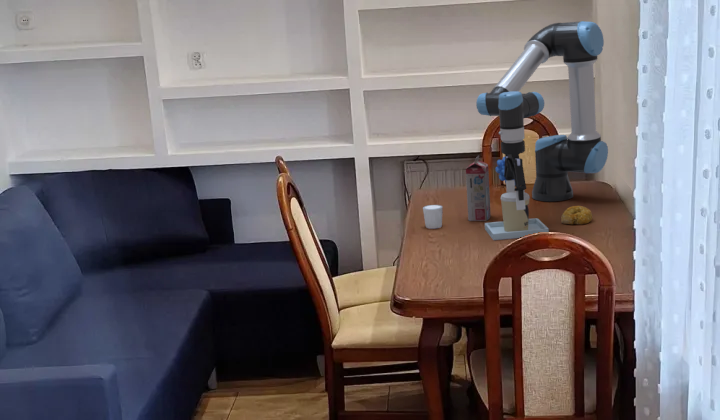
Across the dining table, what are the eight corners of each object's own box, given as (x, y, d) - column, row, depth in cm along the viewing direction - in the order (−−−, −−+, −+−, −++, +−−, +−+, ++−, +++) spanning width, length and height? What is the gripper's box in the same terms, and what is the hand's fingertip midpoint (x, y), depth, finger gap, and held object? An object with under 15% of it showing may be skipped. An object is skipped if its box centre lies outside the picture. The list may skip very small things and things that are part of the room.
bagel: (553, 222, 288) (553, 208, 287) (579, 216, 292) (579, 202, 291) (572, 227, 279) (572, 213, 278) (599, 221, 283) (598, 208, 282)
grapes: (491, 187, 346) (490, 158, 343) (498, 183, 351) (497, 155, 348) (518, 188, 339) (517, 159, 336) (525, 184, 345) (524, 155, 342)
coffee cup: (530, 233, 273) (529, 197, 270) (501, 234, 275) (499, 198, 272) (530, 226, 282) (529, 191, 279) (502, 226, 284) (500, 192, 281)
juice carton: (490, 216, 301) (487, 155, 296) (487, 220, 295) (484, 159, 290) (472, 215, 304) (469, 155, 298) (468, 220, 297) (465, 159, 292)
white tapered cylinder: (422, 224, 297) (421, 205, 295) (441, 223, 298) (440, 203, 296) (425, 229, 290) (424, 210, 289) (445, 227, 291) (444, 208, 289)
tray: (537, 224, 286) (537, 218, 285) (548, 235, 272) (548, 228, 272) (484, 229, 285) (484, 223, 285) (493, 240, 272) (493, 234, 271)
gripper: (492, 135, 283) (496, 196, 289) (509, 148, 259) (513, 215, 265) (515, 132, 284) (518, 194, 289) (534, 146, 260) (537, 212, 265)
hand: (516, 204), depth 277 cm, fingers open, 13 cm apart
